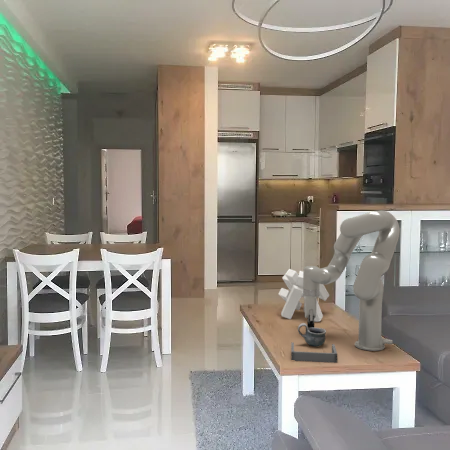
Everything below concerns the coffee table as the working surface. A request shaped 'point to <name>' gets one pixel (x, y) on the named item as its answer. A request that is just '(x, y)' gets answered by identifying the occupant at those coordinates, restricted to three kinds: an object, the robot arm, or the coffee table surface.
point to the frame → (314, 355)
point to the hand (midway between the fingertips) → (310, 331)
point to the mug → (313, 335)
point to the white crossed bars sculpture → (298, 294)
